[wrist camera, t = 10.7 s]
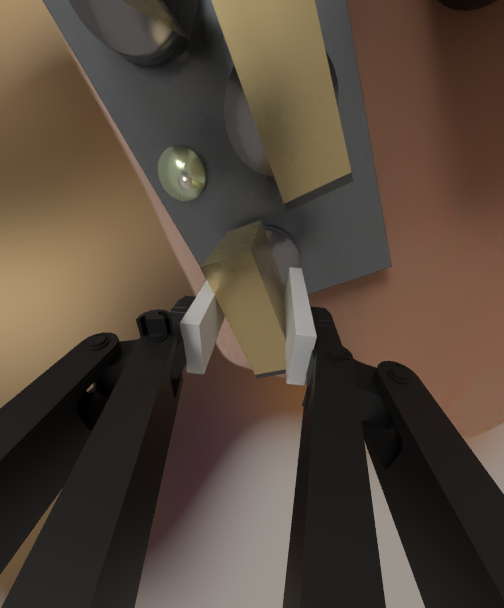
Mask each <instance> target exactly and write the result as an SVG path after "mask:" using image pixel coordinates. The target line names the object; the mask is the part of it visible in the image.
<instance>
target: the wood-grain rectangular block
mask: <svg viewBox="0 0 504 608" xmlns="http://www.w3.org/2000/svg"><path fill="white" fill-rule="evenodd" d="M211 1H212V4H213V7H214V9H215V12H216V15H217V18H218V21H219V23H220V26H221V29H222V32H223V35H224V37H225V40H226V43H227V46H228V49H229V51H230V54H231V57H232V60H233V63H234V67H233V68H232V71H231V74H230V76H229V79H228V83H227V86H226V92H225V98H224V118H225V125H226V130H227V134H228V137H229V140H230V142H231V144H232V146H233V148H234V150H235V152H236V153H237V155H238V156H239V157H240V159H241V160H242V161H243V162H244V163H245V164H246V165H247V166H248V167H250V168H251V169H252V170H254V171H256V172H258V173H260V174H263V175H266V176H271V177H275V180H276V183H277V186H278V188H279V191H280V194H281V197H282V200H283V202H284V205H285V208H286V211H289V210H292V209H294V208H296V207H298V206H300V205H303V204H305V203H307V202H309V201H311V200H314V199H316V198H318V197H320V196H322V195H325V194H327V193H329V192H331V191H333V190H336V189H338V188H340V187H342V186H344V185H347V184H349V183H351V182H353V177H352V172H351V168H350V163H349V158H348V154H347V149H346V144H345V140H344V135H343V130H342V126H341V121H340V116H339V112H338V103H339V89H338V81H337V76H336V72H335V68H334V66H333V63H332V61H331V58H330V57H329V55H328V53H327V52H326V50H325V46H324V42H323V37H322V32H321V28H320V23H319V18H318V14H317V9H316V4H315V0H211Z"/></svg>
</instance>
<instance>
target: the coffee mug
mask: <svg viewBox="0 0 504 608" xmlns="http://www.w3.org/2000/svg"><path fill="white" fill-rule="evenodd" d="M439 1H440V2H441V3H442V4H443V5H445V6H447V7H450V8H452V9H454V10H465V11H468V10H473V9H478V8H482V7H484V6H486V5H489V4H491V3H493V2H495V1H497V0H439Z"/></svg>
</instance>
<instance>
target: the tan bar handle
mask: <svg viewBox="0 0 504 608" xmlns="http://www.w3.org/2000/svg"><path fill="white" fill-rule="evenodd" d="M289 267H292V268H302V273H303V263H302V259H301V254H300V251H299V248H298V246H297V244H296V243H295V241H294V240H293V239H292V238H291V237H290V236H289V235H288V234H287V233H286V232H284V231H282V230H280V229H278V228H275V227H271V226H263V223H262V220H259V221H256V222H253V223H251V224H248V225H245V226H243V227H240V228H237V229H235V230H232V231H229V232H228V233H227V234H226V235H225V237H224V238H223V239H222V240H221V242H220V243H219V244H218V245H217V247H216V248H215V249H214V250H213V252H212V253H211V254H210V256H209V257H208V258H207V259H206V261H205V262H204V263H203V264H202V266H201V267H200V268H201V270H202V272H203V274H204V276H205V278H206V280H207V282H208V284H209V285H210V287H211V289H212V291H213V293H214V294H215V297H216V299H217V301H218V303H219V305H220V307H221V309H222V311H223V313H224V315H225V317H226V319H227V321H228V323H229V325H230V327H231V328H232V330H233V332H234V334H235V336H236V338H237V340H238V342H239V344H240V346H241V348H242V350H243V352H244V354H245V356H246V358H247V360H248V362H249V364H250V366H251V368H252V369H253V371H254V373H255V375H256V377H257V378H261V377H267V376H272V375H278V374H283V373H286V352H285V344H286V332H285V307H284V300H285V293H286V286H287V279H288V272H289Z"/></svg>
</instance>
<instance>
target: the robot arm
mask: <svg viewBox="0 0 504 608" xmlns="http://www.w3.org/2000/svg"><path fill="white" fill-rule="evenodd" d="M284 307H285V332H286V344H285V352H286V380H287V384H294V385H302V386H304V385H305V381H306V379H307V389H306V394H305V397H304V401H303V404H302V406H304V410H303V420H302V429H301V438H300V448H299V457H298V467H297V477H296V486H295V497H294V505H293V514H292V524H291V533H290V543H289V552H288V562H287V571H286V581H285V591H284V599H283V608H386V605H385V598H384V590H383V582H382V574H381V567H380V559H379V551H378V544H377V537H376V528H375V520H374V513H373V506H372V497H371V490H370V482H369V474H368V466H367V459H366V451H365V444H364V441H365V443H366V446H367V449H368V451H369V454H370V457H371V460H372V462H373V465H374V468H375V471H376V474H377V476H378V479H379V482H380V484H381V487H382V490H383V492H384V495H385V498H386V501H387V504H388V506H389V509H390V512H391V515H392V517H393V520H394V523H395V525H396V528H397V531H398V534H399V536H400V539H401V542H402V545H403V548H404V550H405V553H406V556H407V558H408V561H409V564H410V567H411V569H412V572H413V575H414V578H415V581H416V583H417V586H418V589H419V591H420V594H421V597H422V600H423V602H424V605H425V608H504V494H503V493H502V491H501V490H500V489H499V487H498V486H497V485H496V483H495V482H494V480H493V479H492V478H491V476H490V475H489V474H488V472H487V471H486V470H485V468H484V467H483V465H482V464H481V463H480V461H479V460H478V458H477V457H476V456H475V454H474V453H473V452H472V450H471V449H470V447H469V446H468V445H467V443H466V442H465V441H464V439H463V438H462V436H461V435H460V434H459V432H458V431H457V430H456V428H455V427H454V425H453V424H452V423H451V421H450V420H449V419H448V417H447V416H446V414H445V413H444V412H443V410H442V409H441V408H440V406H439V405H438V403H437V402H436V401H435V399H434V398H433V397H432V395H431V394H430V392H429V391H428V390H427V388H426V387H425V386H424V384H423V383H422V382H421V380H420V379H419V377H418V376H417V375H416V374H415V373H414V372H413V371H412V370H410V369H409V368H407V367H406V366H404V365H402V364H399V363H397V362H392V361H383V362H381V363H380V364H379V365H378V367H377V368H375V367H372V366H369V365H366V364H363V363H361V362H358V361H356V360H355V359H353V356H352V354H351V353H350V352H349V351H348V350H347V349H346V348H344V347H343V346H342V344H341V341H340V338H339V336H338V333H337V330H336V327H335V324H334V322H333V319H332V316H331V314H330V313H329V312H328V311H327V310H326V309H325V308H319V307H310V304H309V300H308V295H307V291H306V286H305V282H304V277H303V273H302V268H292V267H289V272H288V279H287V286H286V293H285V300H284ZM224 317H225V315H224V313H223V311H222V309H221V307H220V305H219V303H218V301H217V299H216V297H215V294H214V293H213V291H212V289H211V287H210V285H209V284H208V282H207V281H206V282H205V284H204V285H203V287H202V289H201V290H200V292H199V293H198V295H197V297H192V296H185V297H183V298H182V299H180V300H179V301H178V302H177V303H176V304H175V306H174V307H173V308H172V310H171V312H168V311H166V310H151V311H148V312H145V313H143V314H141V315H140V316H139V317H138V318H137V319H136V321H137V325H138V329H139V332H140V336H141V337H140V339H137V340H130V341H121V342H119V339H118V337H117V336H116V334H113V333H100V334H95V335H92V336H90V337H88V338H86V339H85V340H83V341H82V342H81V343H79V344H78V345H77V346H76V347H74V348H73V349H72V350H71V351H70V352H68V353H67V354H66V355H65V356H64V357H63V358H61V359H60V360H59V361H57V362H56V363H55V364H54V365H53V366H51V367H50V368H49V369H48V370H47V371H46V372H44V373H43V374H42V375H41V376H39V377H38V378H37V379H36V380H34V381H33V382H32V383H31V384H30V385H28V386H27V387H26V388H25V389H24V390H22V391H21V392H20V393H19V394H17V395H16V396H15V397H14V398H13V399H12V400H10V401H9V402H8V403H7V404H5V405H4V406H3V407H2V408H0V574H1V573H2V571H3V570H4V568H5V567H6V566H7V564H8V563H9V562H10V560H11V559H12V557H13V556H14V555H15V553H16V552H17V550H18V549H19V548H20V546H21V545H22V543H23V542H24V541H25V539H26V538H27V537H28V535H29V534H30V532H31V531H32V530H33V528H34V527H35V525H36V524H37V523H38V521H39V520H40V518H41V517H42V516H43V514H44V513H45V511H46V510H47V509H48V507H49V506H50V504H51V503H52V502H53V500H54V499H55V498H56V496H57V495H58V493H59V492H60V491H61V489H62V488H63V489H62V491H61V493H60V495H59V497H58V498H57V500H56V502H55V504H54V506H53V508H52V510H51V512H50V514H49V516H48V518H47V520H46V522H45V524H44V526H43V528H42V529H41V531H40V534H39V536H38V537H37V539H36V541H35V543H34V545H33V547H32V550H31V551H30V553H29V555H28V557H27V559H26V561H25V563H24V564H23V567H22V568H21V570H20V572H19V574H18V576H17V578H16V580H15V582H14V584H13V586H12V588H11V590H10V592H9V594H8V596H7V598H6V600H5V602H4V603H3V605H2V607H1V608H134V607H135V602H136V598H137V593H138V588H139V584H140V579H141V574H142V570H143V565H144V560H145V555H146V551H147V546H148V542H149V537H150V532H151V528H152V523H153V518H154V514H155V509H156V504H157V500H158V494H159V490H160V486H161V481H162V476H163V472H164V467H165V462H166V458H167V453H168V448H169V444H170V439H171V434H172V430H173V425H174V420H175V416H176V411H177V406H178V402H179V397H180V392H181V387H182V383H183V374H182V371H183V369H184V367H185V365H186V367H187V372H188V373H197V374H204V373H205V370H206V367H207V364H208V361H209V358H210V356H211V353H212V350H213V347H214V345H215V342H216V339H217V336H218V334H219V331H220V328H221V325H222V322H223V320H224ZM91 384H93V385H94V387H93V388H92V389H91V390H89V391H88V392H87V391H86V390H87V389H88V388H89V387H90V385H91Z"/></svg>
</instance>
